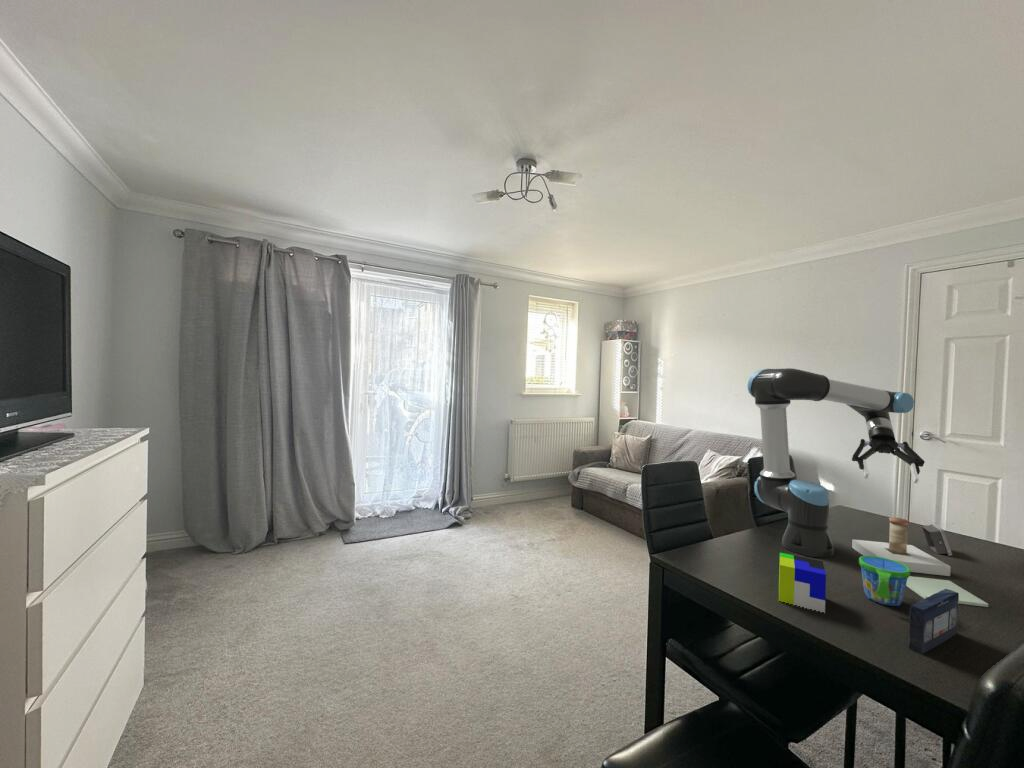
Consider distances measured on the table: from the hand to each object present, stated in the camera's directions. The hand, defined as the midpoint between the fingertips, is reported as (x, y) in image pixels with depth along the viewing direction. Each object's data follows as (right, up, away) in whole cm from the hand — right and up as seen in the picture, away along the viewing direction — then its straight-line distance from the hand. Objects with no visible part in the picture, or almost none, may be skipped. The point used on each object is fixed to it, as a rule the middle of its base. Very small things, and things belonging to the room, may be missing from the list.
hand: (890, 478), depth 152 cm
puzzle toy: (-57, -25, -36) cm, 72 cm away
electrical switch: (+17, -26, +1) cm, 32 cm away
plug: (-6, -26, -9) cm, 28 cm away
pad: (-13, -26, -30) cm, 41 cm away
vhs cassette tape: (-38, -26, -54) cm, 71 cm away
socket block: (-6, -26, -9) cm, 28 cm away
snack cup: (-34, -25, -36) cm, 56 cm away
